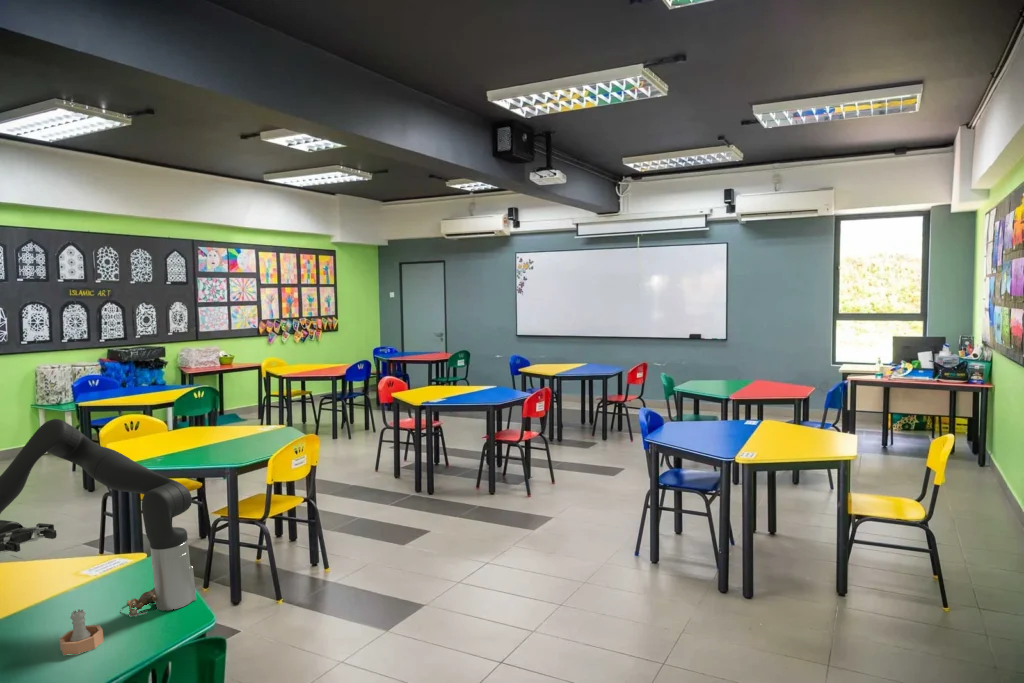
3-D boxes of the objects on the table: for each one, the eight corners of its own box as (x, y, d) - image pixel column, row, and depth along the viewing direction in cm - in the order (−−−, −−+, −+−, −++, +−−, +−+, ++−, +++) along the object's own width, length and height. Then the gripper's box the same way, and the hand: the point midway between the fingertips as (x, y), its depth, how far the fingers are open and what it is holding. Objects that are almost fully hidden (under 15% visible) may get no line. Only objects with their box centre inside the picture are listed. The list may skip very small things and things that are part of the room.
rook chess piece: (87, 636, 168) (84, 605, 167) (94, 641, 165) (91, 610, 164) (67, 644, 164) (63, 613, 163) (74, 649, 161) (70, 618, 161)
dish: (97, 632, 171) (96, 621, 170) (106, 644, 165) (105, 632, 164) (58, 646, 165) (56, 635, 164) (66, 659, 159) (64, 647, 158)
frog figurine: (152, 593, 193) (151, 580, 193) (175, 602, 186) (174, 589, 186) (111, 610, 183) (109, 597, 183) (134, 621, 177) (132, 607, 177)
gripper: (-34, 531, 168) (3, 536, 161) (26, 511, 181) (63, 516, 174) (-30, 559, 169) (8, 566, 162) (30, 538, 182) (67, 544, 175)
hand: (37, 540), depth 168 cm, fingers open, 8 cm apart
